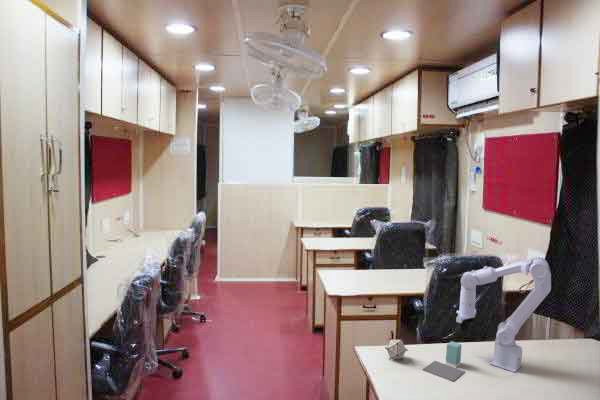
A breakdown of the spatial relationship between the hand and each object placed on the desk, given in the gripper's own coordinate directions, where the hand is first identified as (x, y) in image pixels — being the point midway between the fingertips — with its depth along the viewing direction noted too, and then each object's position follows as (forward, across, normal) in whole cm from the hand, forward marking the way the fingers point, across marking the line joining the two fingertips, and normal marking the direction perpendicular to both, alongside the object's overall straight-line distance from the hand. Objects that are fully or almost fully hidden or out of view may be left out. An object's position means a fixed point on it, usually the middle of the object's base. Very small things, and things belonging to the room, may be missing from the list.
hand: (465, 335), depth 182 cm
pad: (+8, +18, 0) cm, 20 cm away
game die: (+9, +22, -18) cm, 30 cm away
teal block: (+8, +10, 0) cm, 13 cm away
